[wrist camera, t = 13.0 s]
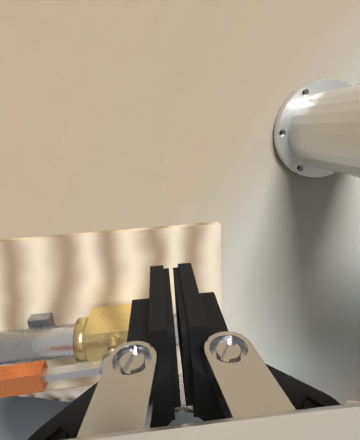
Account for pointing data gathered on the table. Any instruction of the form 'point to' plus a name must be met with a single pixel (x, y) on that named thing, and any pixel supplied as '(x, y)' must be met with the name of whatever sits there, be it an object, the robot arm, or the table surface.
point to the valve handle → (43, 375)
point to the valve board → (99, 274)
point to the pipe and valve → (69, 336)
